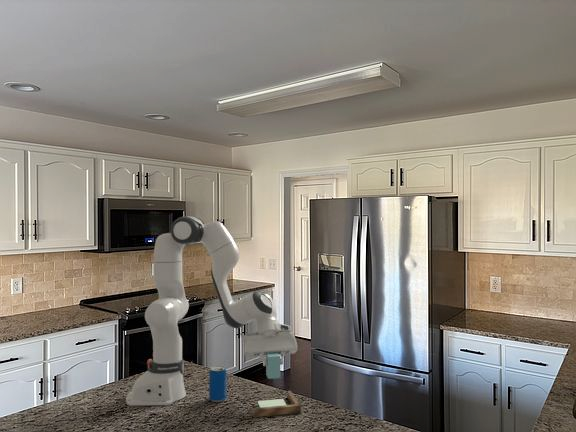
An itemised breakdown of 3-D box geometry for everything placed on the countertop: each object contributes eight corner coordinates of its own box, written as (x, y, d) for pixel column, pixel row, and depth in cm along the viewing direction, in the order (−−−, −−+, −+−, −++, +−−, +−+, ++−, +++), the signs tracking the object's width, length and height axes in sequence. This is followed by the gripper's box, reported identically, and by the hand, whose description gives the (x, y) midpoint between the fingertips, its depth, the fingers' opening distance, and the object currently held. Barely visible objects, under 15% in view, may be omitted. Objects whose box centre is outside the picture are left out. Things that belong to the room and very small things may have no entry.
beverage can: (222, 403, 169) (223, 371, 169) (206, 402, 170) (206, 370, 171) (228, 397, 175) (228, 366, 176) (212, 395, 177) (213, 365, 177)
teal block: (268, 378, 165) (268, 356, 165) (266, 374, 169) (266, 353, 169) (280, 377, 166) (280, 356, 166) (277, 374, 170) (277, 352, 170)
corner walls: (253, 417, 157) (253, 410, 157) (247, 400, 172) (247, 394, 172) (300, 412, 161) (300, 405, 161) (290, 397, 175) (290, 390, 176)
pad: (261, 412, 161) (261, 411, 161) (257, 401, 171) (257, 401, 171) (289, 409, 163) (289, 409, 163) (283, 399, 173) (283, 398, 173)
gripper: (242, 329, 172) (246, 362, 162) (294, 326, 177) (301, 358, 167) (241, 338, 176) (244, 370, 167) (292, 334, 181) (298, 366, 171)
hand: (273, 364), depth 167 cm, fingers closed on teal block, 4 cm apart
